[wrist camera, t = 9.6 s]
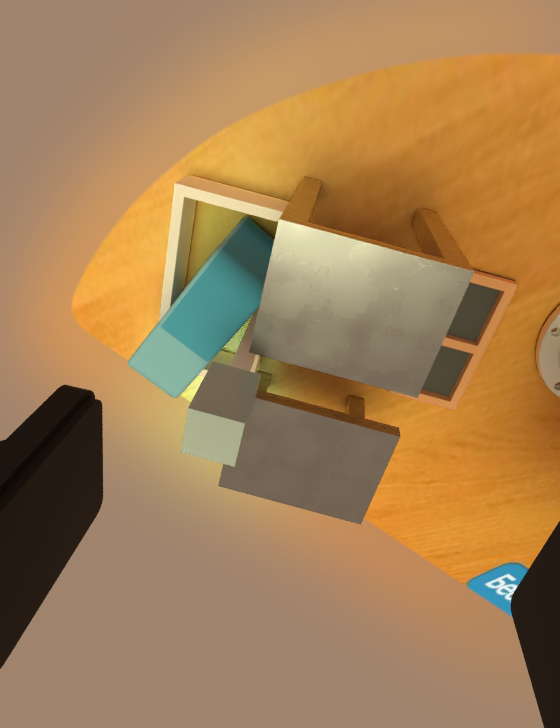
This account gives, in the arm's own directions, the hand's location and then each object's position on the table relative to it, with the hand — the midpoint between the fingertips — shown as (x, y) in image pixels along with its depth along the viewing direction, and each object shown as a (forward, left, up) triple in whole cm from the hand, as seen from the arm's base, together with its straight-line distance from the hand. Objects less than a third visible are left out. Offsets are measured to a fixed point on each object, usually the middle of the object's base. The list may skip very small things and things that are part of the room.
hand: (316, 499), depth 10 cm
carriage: (+8, +10, -35) cm, 37 cm away
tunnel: (-2, +10, -35) cm, 36 cm away
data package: (+8, +10, -35) cm, 37 cm away
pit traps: (-12, +10, -35) cm, 38 cm away
